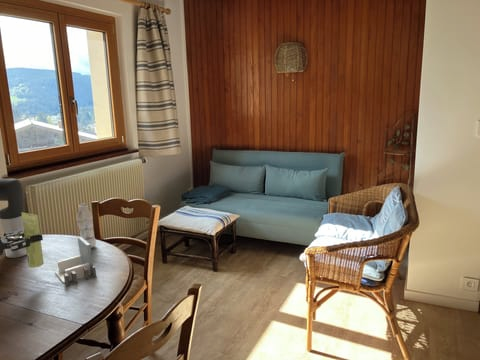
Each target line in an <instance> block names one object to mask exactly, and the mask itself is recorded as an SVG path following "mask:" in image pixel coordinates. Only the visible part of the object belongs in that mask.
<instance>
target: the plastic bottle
mask: <svg viewBox="0 0 480 360" xmlns="http://www.w3.org/2000/svg"><path fill="white" fill-rule="evenodd" d="M78 210H79V211H78V212H77V214H76V221H77V224H78V228H79V235H80V236H81V237H82V238H83V239H84V240H86V241H87V242H88V243H89V244H90V246H91V249H93V248H95V247H96V244H97V240H96V238H95V233H94V229H93V227H94V225H93V213H92V212H91V211H90V210H89V205H88V203H80V204H78ZM80 236H79V237H80Z"/></svg>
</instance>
